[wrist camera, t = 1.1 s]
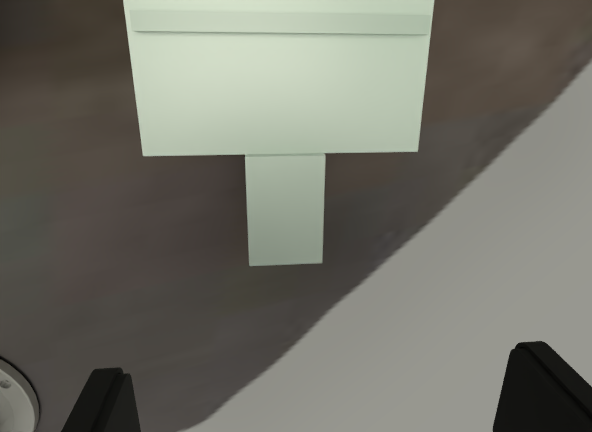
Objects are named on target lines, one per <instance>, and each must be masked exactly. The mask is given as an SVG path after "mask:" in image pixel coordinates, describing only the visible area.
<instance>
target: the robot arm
mask: <svg viewBox="0 0 592 432" xmlns="http://www.w3.org/2000/svg"><path fill="white" fill-rule="evenodd" d="M38 419H39V405H38V401H37V398H36V395H35V393H34V391H33V389H32V387H31V386H30V384H29V383H28V382H27V381H26V379H25V378H24V377H23V376H22V375H21V374H20V373H19V372H18V371H17V370H15V369H14V368H13V367H12V366H11V365H9V364H8V363H6V362H4V361H3V360H1V359H0V432H34V430H35V429H36V427H37V423H38ZM61 432H141V430H140V424H139V419H138V413H137V407H136V401H135V396H134V390H133V384H132V378H131V375H130V374H124V373H123V370H122V369H121V368H104V369H95V370H93V372H92V373H91V375H90V377H89V379H88V381H87V383H86V384H85V386H84V388H83V390H82V392H81V394H80V396H79V398H78V400H77V402H76V404H75V406H74V408H73V410H72V412H71V414H70V415H69V417H68V419H67V421H66V423H65V425H64V427H63V429H62V431H61ZM493 432H592V387H591V386H590V385H589V384H588V383H587V382H586V381H585V380H584V379H583V378H582V377H581V376H580V375H579V374H578V373H577V372H576V371H575V370H574V369H573V368H572V367H570V366H569V365H568V364H567V363H566V362H565V361H564V360H563V359H562V358H561V357H560V356H559V355H558V354H557V353H556V352H555V351H554V350H553V349H552V348H551V347H550V346H549V345H548V344H546V343H545V342H542V341H536V342H521V343H518V344H517V345H516V347H515V349H512V350H511V352H510V355H509V359H508V364H507V368H506V372H505V377H504V381H503V386H502V390H501V394H500V399H499V403H498V408H497V412H496V416H495V420H494V425H493Z"/></svg>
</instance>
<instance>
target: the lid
mask: <svg viewBox="0 0 592 432" xmlns="http://www.w3.org/2000/svg"><path fill="white" fill-rule="evenodd" d="M123 2H124V10H125V18H126V25H127V33H128V41H129V49H130V57H131V65H132V73H133V80H134V88H135V96H136V104H137V112H138V120H139V128H140V135H141V143H142V151H143V156H178V155H239V154H245V170H246V195H247V221H248V246H249V266H263V265H287V264H311V263H322V253H323V220H324V187H325V154H324V153H361V152H418V143H419V134H420V125H421V116H422V107H423V98H424V88H425V79H426V70H427V61H428V52H429V43H430V34H431V24H432V15H433V6H434V0H123Z"/></svg>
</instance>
